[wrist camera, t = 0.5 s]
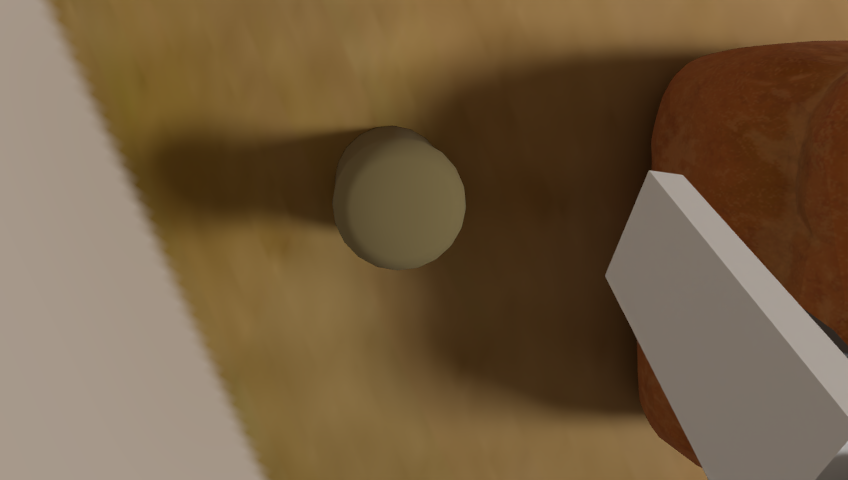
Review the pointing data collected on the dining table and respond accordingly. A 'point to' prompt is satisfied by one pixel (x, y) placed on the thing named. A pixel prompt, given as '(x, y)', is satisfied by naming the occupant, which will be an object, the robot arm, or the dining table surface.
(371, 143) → the cork
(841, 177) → the bread
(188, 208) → the dining table surface
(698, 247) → the robot arm
